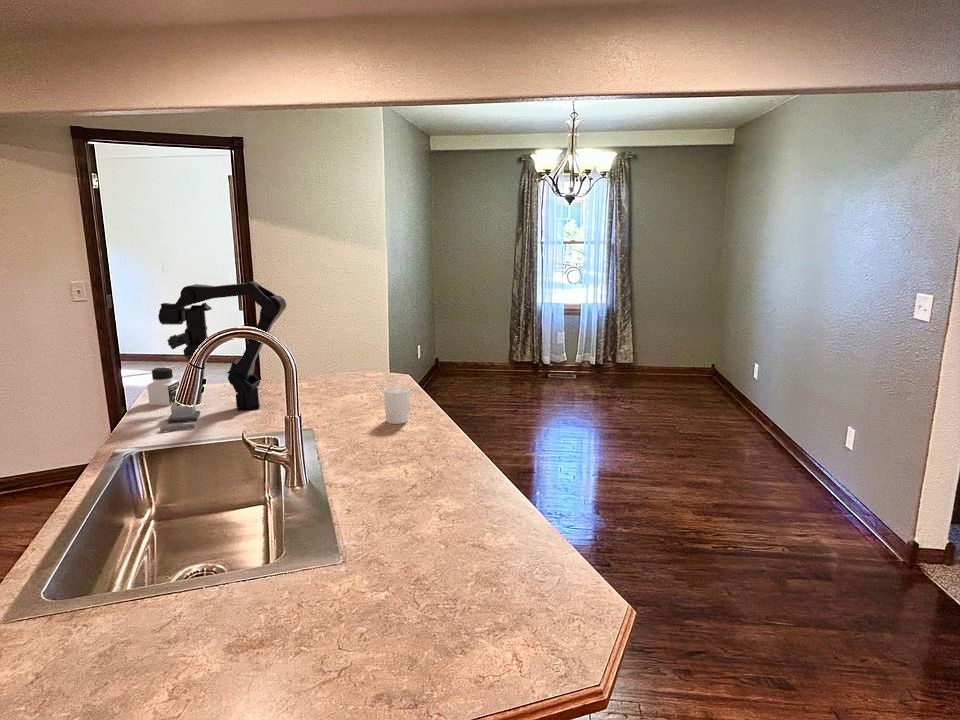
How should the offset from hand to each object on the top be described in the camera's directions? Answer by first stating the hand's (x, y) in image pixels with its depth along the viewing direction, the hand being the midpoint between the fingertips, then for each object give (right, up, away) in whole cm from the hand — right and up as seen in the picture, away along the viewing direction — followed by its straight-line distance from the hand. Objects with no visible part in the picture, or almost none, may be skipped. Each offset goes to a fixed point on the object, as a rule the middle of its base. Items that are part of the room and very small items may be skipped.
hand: (200, 372), depth 195 cm
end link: (-1, -13, -9) cm, 16 cm away
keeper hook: (-1, -14, -9) cm, 17 cm away
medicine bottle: (-15, -11, +8) cm, 21 cm away
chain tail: (+3, -16, -18) cm, 25 cm away
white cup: (+65, -15, -9) cm, 67 cm away
